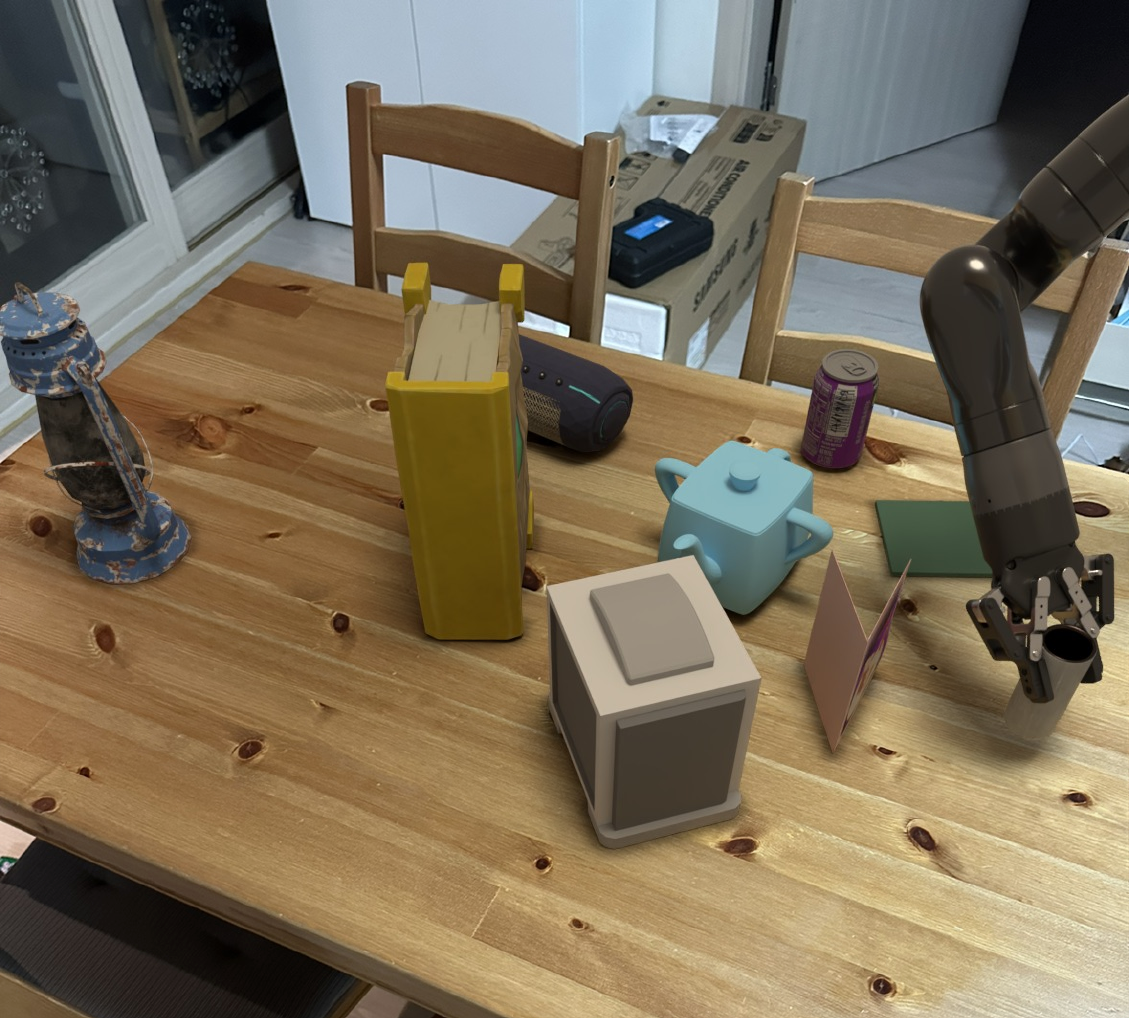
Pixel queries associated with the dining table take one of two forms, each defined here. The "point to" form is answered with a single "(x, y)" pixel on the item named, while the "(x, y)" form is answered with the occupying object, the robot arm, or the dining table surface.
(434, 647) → the dining table surface
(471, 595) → the decorative book
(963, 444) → the robot arm
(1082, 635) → the planter
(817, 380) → the beverage can
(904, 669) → the dining table surface
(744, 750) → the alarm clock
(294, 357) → the dining table surface
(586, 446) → the portable speaker
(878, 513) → the green mat
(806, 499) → the teapot
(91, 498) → the lantern
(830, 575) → the greeting card
